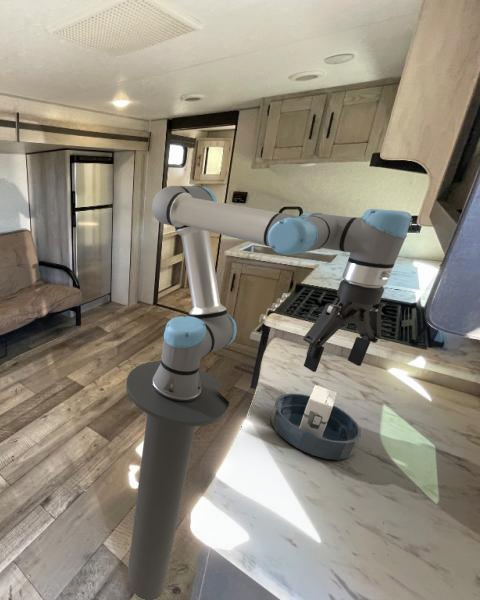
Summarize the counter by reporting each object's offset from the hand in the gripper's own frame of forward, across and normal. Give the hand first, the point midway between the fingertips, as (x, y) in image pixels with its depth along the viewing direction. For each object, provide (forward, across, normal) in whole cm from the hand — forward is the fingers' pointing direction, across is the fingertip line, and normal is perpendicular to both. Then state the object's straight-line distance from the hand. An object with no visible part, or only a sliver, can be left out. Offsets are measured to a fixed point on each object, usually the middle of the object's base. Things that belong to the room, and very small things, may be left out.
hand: (332, 365), depth 78 cm
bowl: (+21, 0, 0) cm, 21 cm away
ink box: (+20, 0, 0) cm, 20 cm away
